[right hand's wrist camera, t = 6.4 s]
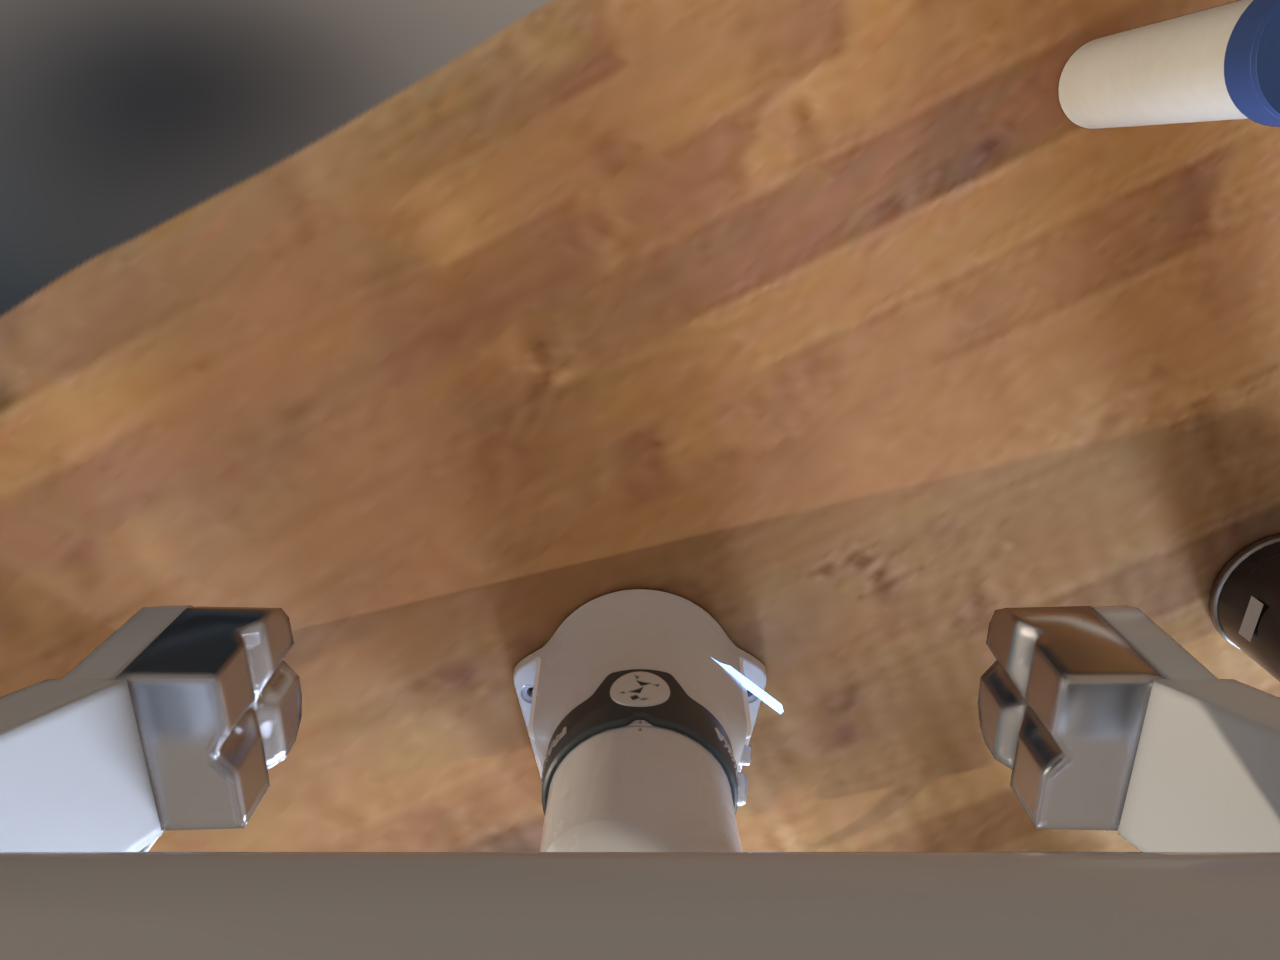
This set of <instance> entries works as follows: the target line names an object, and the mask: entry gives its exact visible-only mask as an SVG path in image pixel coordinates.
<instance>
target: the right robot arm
mask: <svg viewBox="0 0 1280 960" xmlns="http://www.w3.org/2000/svg"><path fill="white" fill-rule="evenodd" d="M293 644H294V641H293V636H292V630H291V625H290V620H289V617H288V616H287V614H286V613H285V612H284V611H283V610H282V608H251V607H193V606H191V605H187V606H157V607H143V608H142V609H140V610H139V611H138V612H137V613H136V614H135V615H134V616H133V617H131V618H130V619H129V620H128V621H127V622H126V623H125V624H124V625H122V626H121V627H120V628H119V629H118V630H117V631H116V632H115V633H113V634H112V635H111V636H110V637H109V638H108V639H107V640H105V641H104V642H103V643H102V644H101V645H100V646H99V647H98V648H96V649H95V650H94V651H93V652H92V653H91V654H90V655H89V656H87V657H86V658H85V659H84V660H83V661H82V662H81V663H79V664H78V665H77V666H76V667H75V668H74V669H73V670H72V671H70V672H69V673H68V674H67V675H66V676H65V677H64V678H63V679H49V680H44V681H42V682H39V683H37V684H34V685H32V686H29V687H26V688H24V689H21V690H19V691H16V692H14V693H11V694H9V695H6V696H3V697H1V698H0V960H1280V698H1279V697H1276V696H1274V695H1271V694H1269V693H1266V692H1264V691H1261V690H1259V689H1256V688H1254V687H1251V686H1248V685H1246V684H1243V683H1241V682H1238V681H1236V680H1232V679H1218V678H1216V677H1215V676H1214V675H1213V674H1212V673H1211V672H1210V671H1208V670H1207V669H1206V668H1205V667H1204V666H1203V665H1202V664H1201V663H1199V662H1198V661H1197V660H1196V659H1195V658H1194V657H1193V656H1192V655H1190V654H1189V653H1188V652H1187V651H1186V650H1185V649H1184V648H1183V647H1181V646H1180V645H1179V644H1178V643H1177V642H1176V641H1175V640H1174V639H1172V638H1171V637H1170V636H1169V635H1168V634H1167V633H1166V632H1165V631H1163V630H1162V629H1161V628H1160V627H1159V626H1158V625H1157V624H1156V623H1154V622H1153V621H1152V620H1151V619H1150V618H1149V617H1148V616H1147V615H1145V614H1144V613H1143V612H1142V611H1141V610H1140V609H1139V608H1135V607H1131V606H1128V605H1122V606H1100V607H1091V606H1073V607H1031V608H1004V609H999V610H995V612H994V614H993V616H992V619H991V621H990V623H989V629H988V634H987V640H986V644H987V645H988V647H989V649H990V650H991V652H992V653H993V655H994V656H995V658H996V659H997V660H996V661H995V663H994V664H993V665H992V666H991V667H990V668H989V669H988V670H987V671H986V672H985V673H984V674H983V675H982V676H981V679H980V688H979V696H978V710H979V720H980V728H981V731H982V734H983V737H984V740H985V743H986V745H987V747H988V748H989V750H990V752H991V754H992V756H993V757H994V759H996V760H998V761H999V762H1001V763H1002V764H1004V765H1006V766H1007V767H1009V768H1011V769H1012V770H1013V771H1012V777H1011V783H1010V786H1011V788H1012V789H1013V791H1014V793H1015V794H1016V796H1017V798H1018V799H1019V801H1020V803H1021V804H1022V806H1023V808H1024V809H1025V811H1026V813H1027V814H1028V816H1029V818H1030V819H1031V821H1032V823H1033V824H1034V826H1035V828H1042V829H1079V830H1116V831H1118V835H1120V836H1121V837H1122V838H1124V839H1125V840H1126V841H1128V842H1129V843H1130V844H1132V845H1133V846H1135V847H1136V848H1137V849H1139V850H1140V851H1141V852H743V851H742V847H741V843H740V838H739V834H738V829H737V824H736V819H735V815H736V811H737V806H742V805H744V804H745V802H746V798H747V790H748V779H747V775H746V774H744V773H741V769H742V766H749V765H750V762H751V755H752V750H751V746H748V745H749V742H750V738H751V735H752V731H753V728H754V724H755V721H756V717H757V714H758V710H759V707H760V703H761V700H762V701H764V702H765V703H766V704H768V705H769V706H770V707H772V708H773V709H774V710H776V711H777V712H778V713H780V714H781V713H782V712H783V708H782V704H780V703H779V702H778V701H776V700H775V699H774V698H772V697H771V696H770V695H768V694H767V693H766V692H764V689H765V686H766V681H767V677H766V669H765V666H764V665H763V664H762V663H761V662H760V661H759V660H758V659H756V658H755V657H753V656H752V655H750V654H748V653H747V652H745V651H743V650H741V649H740V648H738V647H737V646H736V645H735V644H734V643H733V642H732V641H731V640H730V639H729V637H728V636H727V634H726V633H725V632H724V630H723V629H722V627H721V626H720V625H719V624H718V622H717V621H716V620H715V619H714V618H713V617H712V616H711V615H710V614H708V613H707V612H706V611H705V610H703V609H702V608H701V607H699V606H698V605H696V604H694V603H693V602H691V601H689V600H687V599H685V598H682V597H680V596H677V595H674V594H671V593H667V592H663V591H658V590H649V589H631V590H622V591H617V592H613V593H609V594H606V595H603V596H600V597H598V598H595V599H593V600H591V601H589V602H587V603H586V604H584V605H582V606H581V607H579V608H578V609H577V610H575V611H574V612H573V613H572V614H570V615H569V616H568V617H567V618H566V619H565V620H564V621H563V623H562V624H561V625H560V626H559V627H558V629H557V630H556V632H555V633H554V634H553V636H552V637H551V639H550V640H549V641H548V642H547V644H546V645H544V646H543V647H542V648H540V649H539V650H537V651H535V652H533V653H532V654H530V655H528V656H527V657H525V658H524V659H522V660H521V661H520V662H519V663H518V664H517V665H516V667H515V669H514V677H513V681H514V686H515V689H516V693H517V696H518V700H519V703H520V707H521V710H522V714H523V717H524V721H525V724H526V728H527V731H528V734H529V738H530V741H531V745H532V748H533V752H534V755H535V759H536V762H537V766H538V769H539V773H540V776H541V784H543V785H542V805H543V811H544V815H545V821H544V828H543V835H542V842H541V849H540V852H139V851H140V850H142V849H143V848H144V847H146V846H147V845H149V844H150V843H151V842H153V841H154V840H155V839H157V838H158V837H159V836H161V835H162V831H164V830H200V829H236V828H245V826H246V824H247V823H248V821H249V819H250V818H251V816H252V814H253V813H254V811H255V809H256V808H257V806H258V804H259V803H260V801H261V799H262V798H263V796H264V794H265V793H266V791H267V789H268V788H269V786H270V783H269V777H268V771H267V770H268V769H269V768H271V767H273V766H274V765H276V764H278V763H279V762H281V761H282V760H284V759H286V757H287V755H288V754H289V752H290V750H291V748H292V746H293V745H294V743H295V741H296V737H297V733H298V729H299V725H300V721H301V715H302V693H301V686H300V679H299V676H298V675H297V674H296V673H295V672H294V671H293V670H292V669H291V668H290V667H289V666H288V665H287V664H286V663H285V661H284V660H283V659H284V658H285V656H286V655H287V653H288V652H289V650H290V649H291V647H292V645H293ZM531 687H534V688H533V692H532V691H530V690H529V688H531ZM747 690H749V691H748V692H747Z"/></svg>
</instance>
